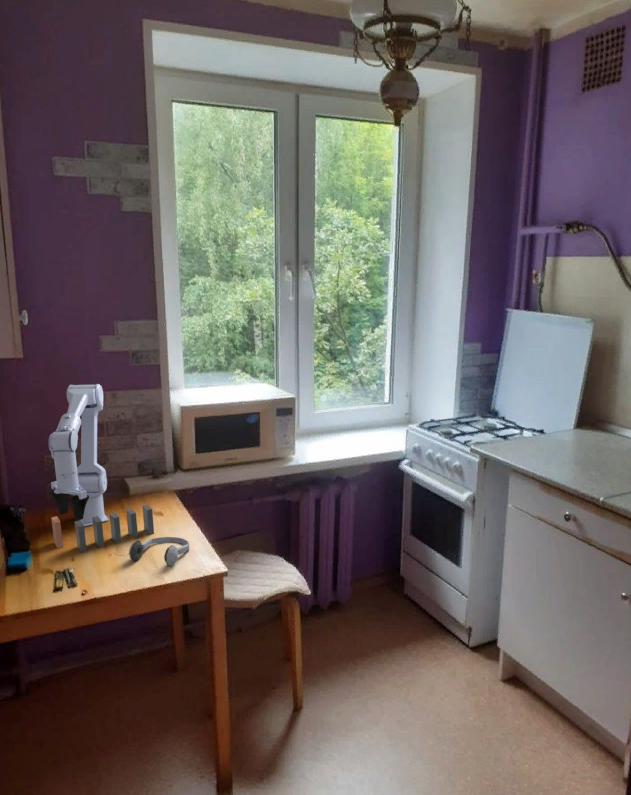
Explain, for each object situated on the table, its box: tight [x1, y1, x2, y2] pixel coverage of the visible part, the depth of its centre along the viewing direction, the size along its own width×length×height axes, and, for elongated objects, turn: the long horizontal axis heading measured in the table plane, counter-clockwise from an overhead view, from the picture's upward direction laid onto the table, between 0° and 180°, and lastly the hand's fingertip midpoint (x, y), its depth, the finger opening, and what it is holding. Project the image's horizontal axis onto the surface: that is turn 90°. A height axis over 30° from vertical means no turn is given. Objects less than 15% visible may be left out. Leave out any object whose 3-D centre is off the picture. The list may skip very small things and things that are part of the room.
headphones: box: [108, 536, 190, 567], centre depth 171 cm, size 17×6×20 cm
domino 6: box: [141, 504, 155, 535], centre depth 186 cm, size 4×2×8 cm, turn 34°
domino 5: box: [125, 507, 139, 539], centre depth 183 cm, size 4×2×8 cm, turn 34°
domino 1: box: [50, 516, 64, 549], centre depth 178 cm, size 4×2×8 cm, turn 34°
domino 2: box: [74, 520, 88, 553], centre depth 175 cm, size 4×2×8 cm, turn 34°
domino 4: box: [109, 511, 122, 544], centre depth 181 cm, size 4×2×8 cm, turn 34°
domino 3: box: [92, 516, 105, 549], centre depth 178 cm, size 4×2×8 cm, turn 34°
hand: (71, 516), depth 175 cm, fingers open, 7 cm apart
